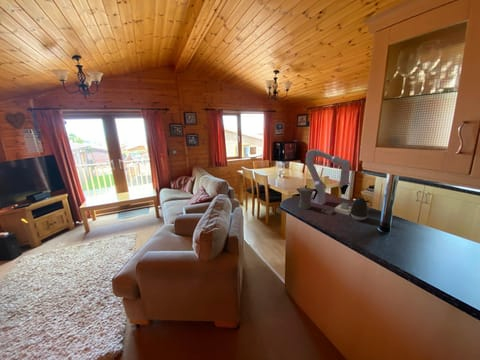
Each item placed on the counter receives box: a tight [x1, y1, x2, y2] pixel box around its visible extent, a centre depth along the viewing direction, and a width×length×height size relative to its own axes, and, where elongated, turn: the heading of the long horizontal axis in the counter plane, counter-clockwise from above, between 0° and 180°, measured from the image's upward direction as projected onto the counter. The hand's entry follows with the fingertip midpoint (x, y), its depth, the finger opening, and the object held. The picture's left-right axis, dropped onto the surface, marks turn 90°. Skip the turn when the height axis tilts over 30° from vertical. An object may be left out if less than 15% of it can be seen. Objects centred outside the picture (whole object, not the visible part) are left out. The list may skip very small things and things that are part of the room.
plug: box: [341, 200, 350, 210], centre depth 145 cm, size 4×4×8 cm
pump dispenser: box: [350, 196, 370, 221], centre depth 133 cm, size 10×10×15 cm
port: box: [334, 203, 352, 216], centre depth 146 cm, size 10×10×3 cm
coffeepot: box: [295, 185, 318, 210], centre depth 154 cm, size 15×9×18 cm, turn 70°
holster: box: [320, 206, 336, 216], centre depth 146 cm, size 8×6×2 cm
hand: (343, 194), depth 153 cm, fingers closed
